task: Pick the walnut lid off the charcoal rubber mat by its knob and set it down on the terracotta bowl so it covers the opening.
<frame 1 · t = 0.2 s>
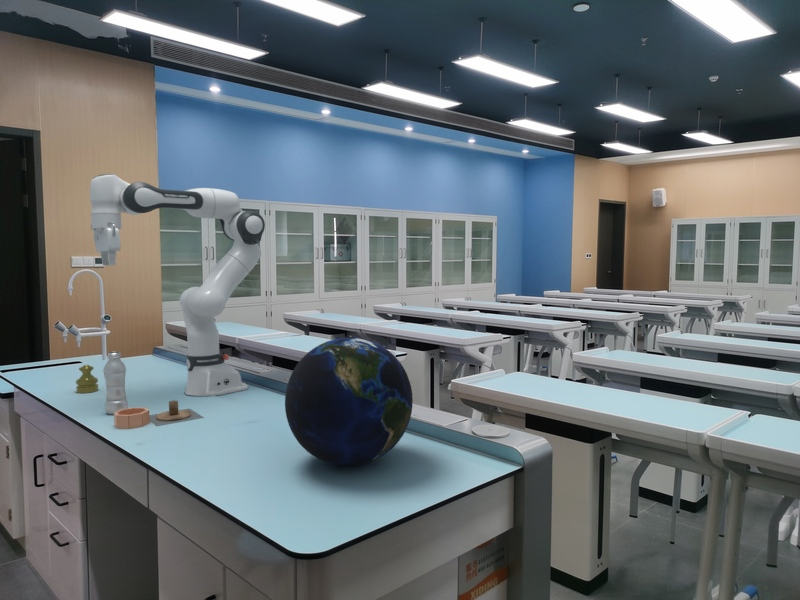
hand: (108, 265, 191), 47 cm above the lab bench, fingers open, 8 cm apart
gold chess piece: (87, 391, 217), on the lab bench
globe: (350, 462, 137), on the lab bench
mat: (174, 418, 177), on the lab bench
lid: (173, 416, 177), point 1 cm above the lab bench, touching mat
plastic bottle: (117, 414, 183), on the lab bench
bowl: (132, 426, 170), on the lab bench
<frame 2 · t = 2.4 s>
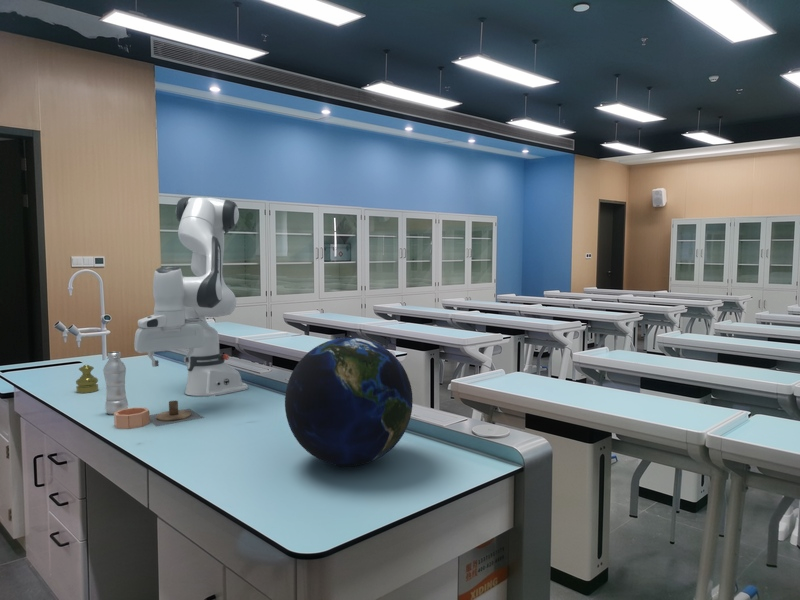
hand: (171, 364, 176), 17 cm above the lab bench, fingers open, 8 cm apart
nothing on the lab bench moved.
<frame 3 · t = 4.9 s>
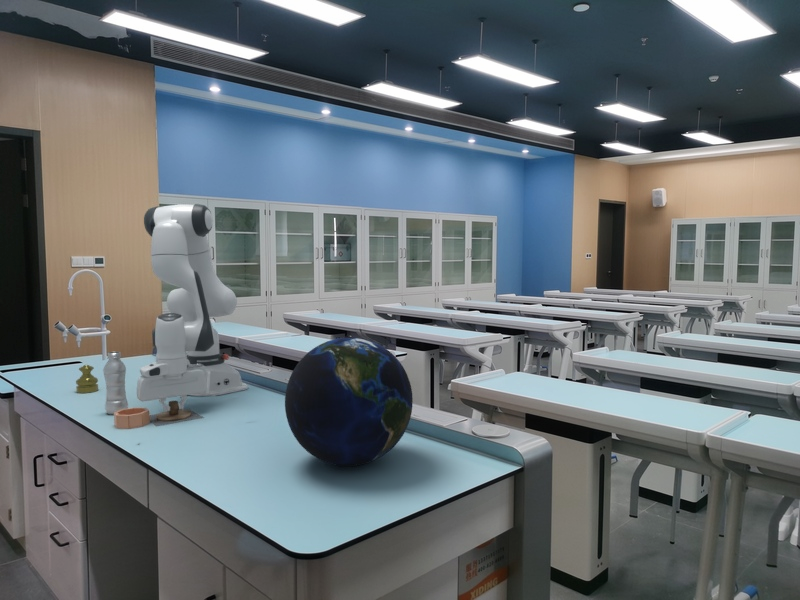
hand: (173, 410, 177), 2 cm above the lab bench, fingers closed on lid, 3 cm apart
lid: (174, 416, 177), point 1 cm above the lab bench, touching gripper, mat
everything else where it was.
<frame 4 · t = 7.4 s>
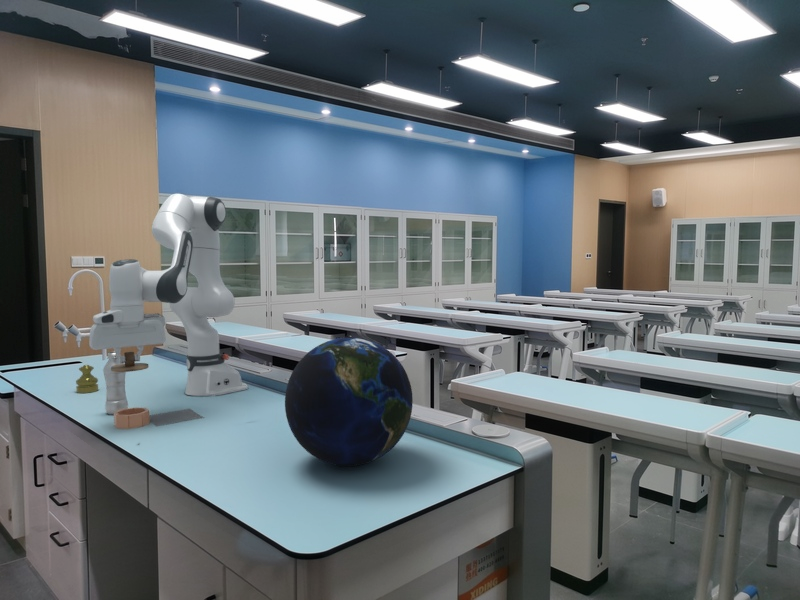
hand: (129, 361, 168), 19 cm above the lab bench, fingers closed on lid, 3 cm apart
lid: (129, 368, 168), point 17 cm above the lab bench, touching gripper
everything else where it was.
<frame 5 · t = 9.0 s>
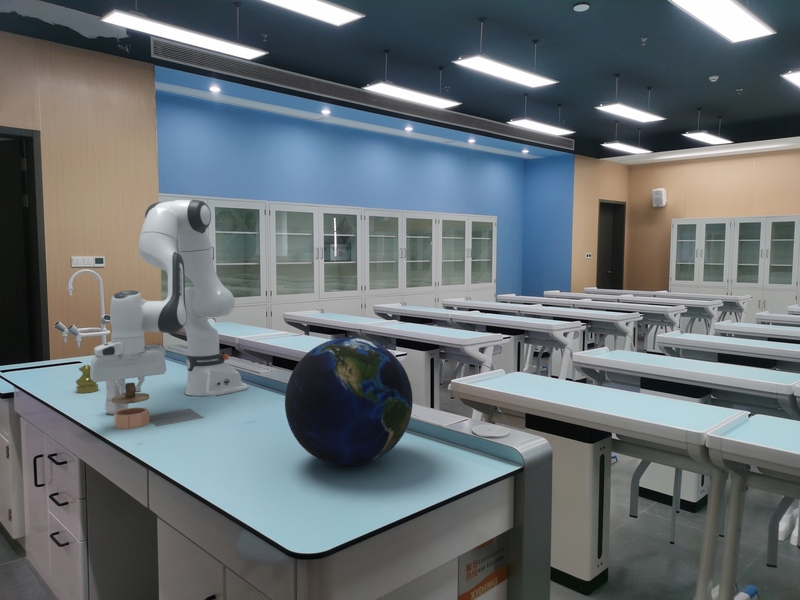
hand: (130, 392, 169), 10 cm above the lab bench, fingers closed on lid, 3 cm apart
lid: (130, 399, 169), point 8 cm above the lab bench, touching gripper
everything else where it was.
when the fingers open (8 cm above the lab bench, at t = 10.1 s): lid drops 1 cm, resting on bowl.
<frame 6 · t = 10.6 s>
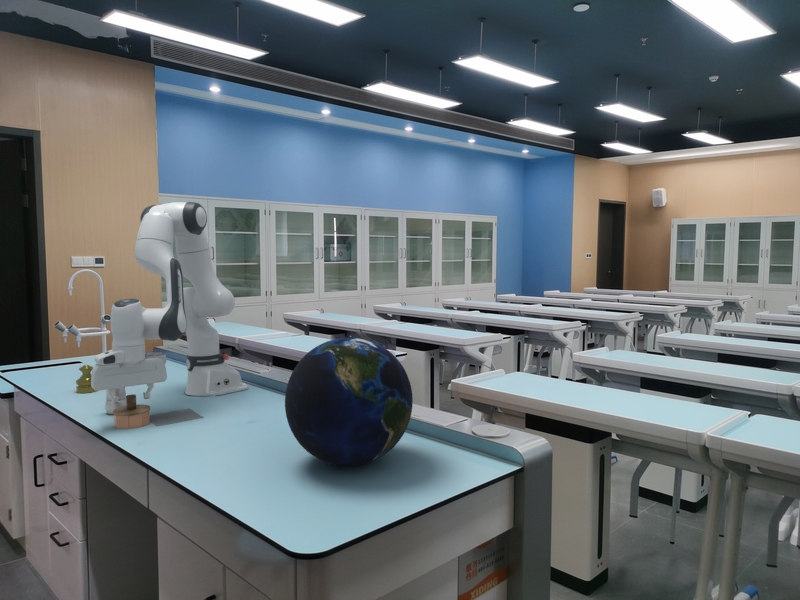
hand: (131, 400, 169), 8 cm above the lab bench, fingers open, 7 cm apart
lid: (131, 411, 169), point 4 cm above the lab bench, touching bowl
everything else where it was.
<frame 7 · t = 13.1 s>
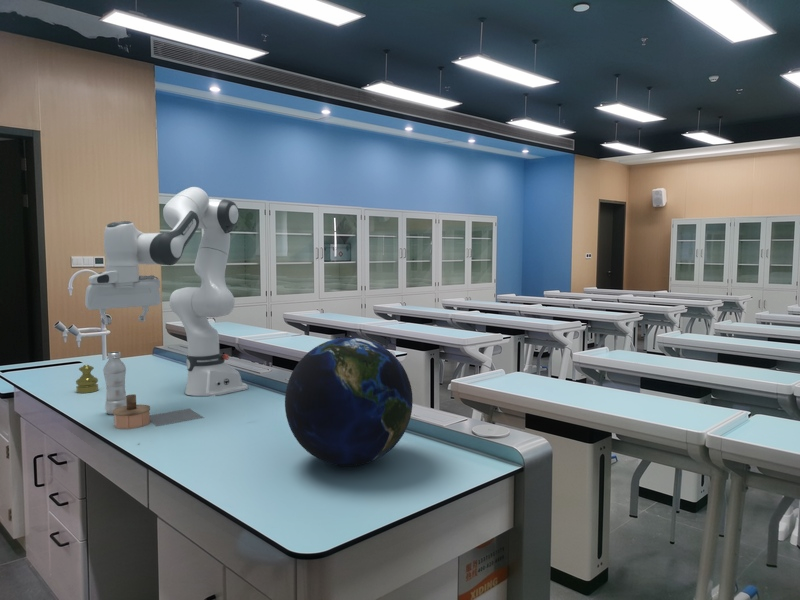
hand: (125, 322, 170), 30 cm above the lab bench, fingers open, 8 cm apart
nothing on the lab bench moved.
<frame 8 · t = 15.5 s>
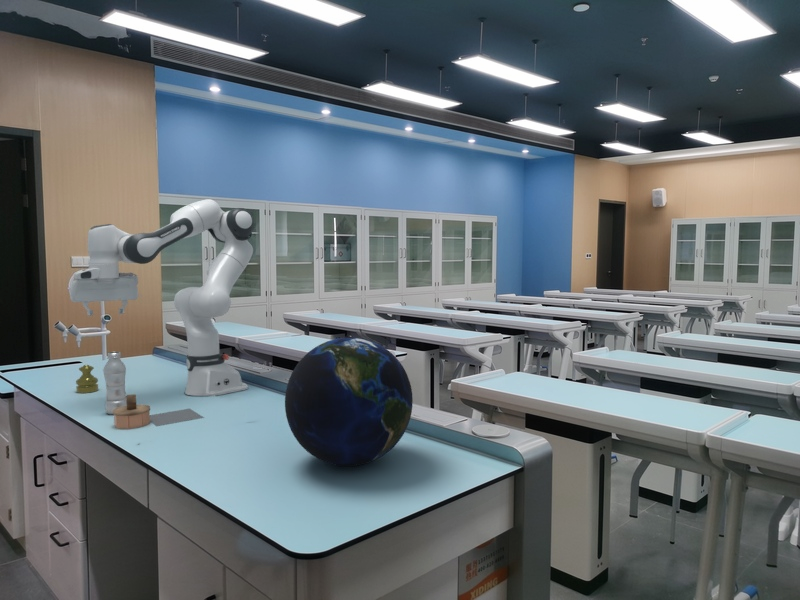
hand: (106, 314, 191), 31 cm above the lab bench, fingers open, 8 cm apart
nothing on the lab bench moved.
at the end: lid 0.1 cm off-centre on the bowl, point 4.4 cm above the bowl's base; lid tilted 0°; the gripper is holding nothing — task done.
